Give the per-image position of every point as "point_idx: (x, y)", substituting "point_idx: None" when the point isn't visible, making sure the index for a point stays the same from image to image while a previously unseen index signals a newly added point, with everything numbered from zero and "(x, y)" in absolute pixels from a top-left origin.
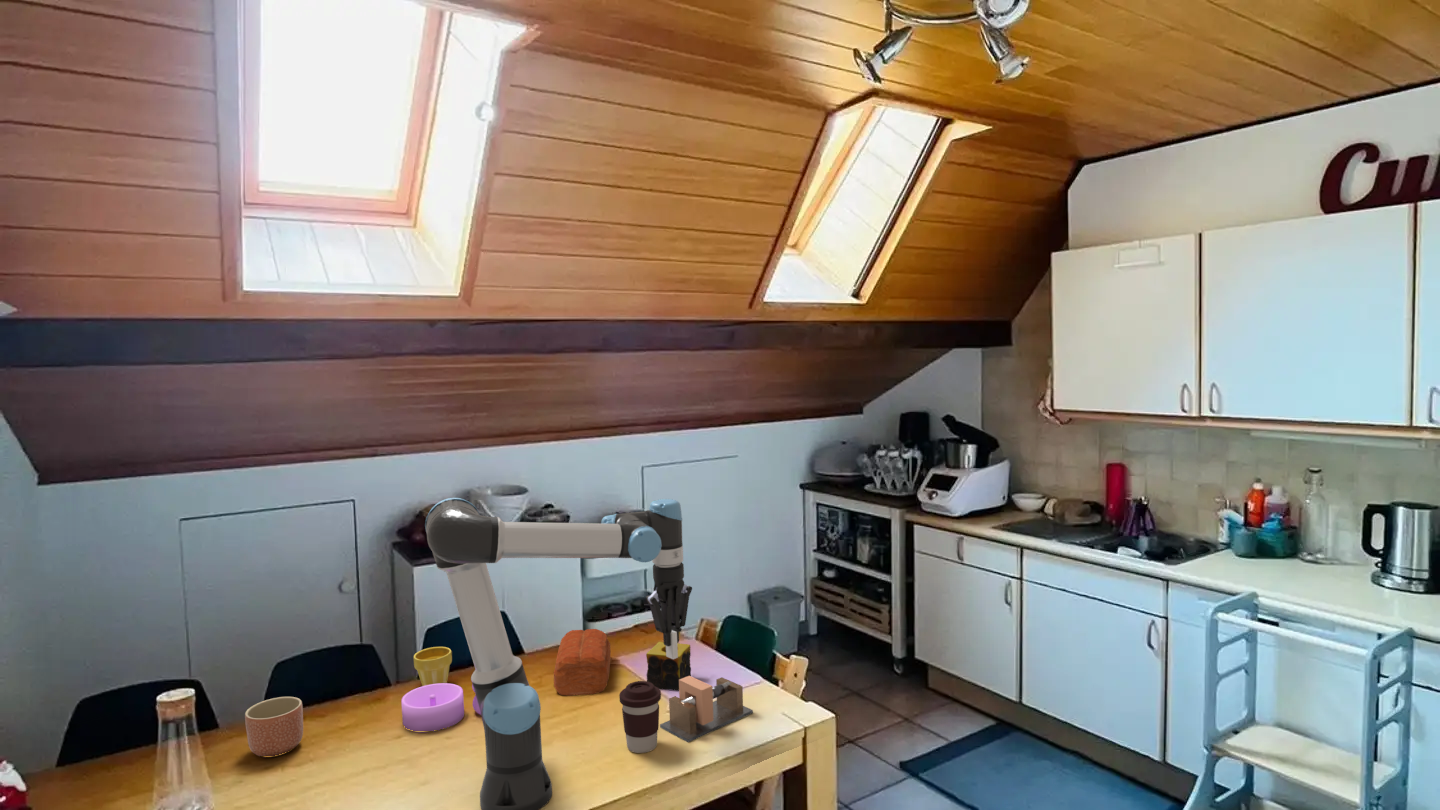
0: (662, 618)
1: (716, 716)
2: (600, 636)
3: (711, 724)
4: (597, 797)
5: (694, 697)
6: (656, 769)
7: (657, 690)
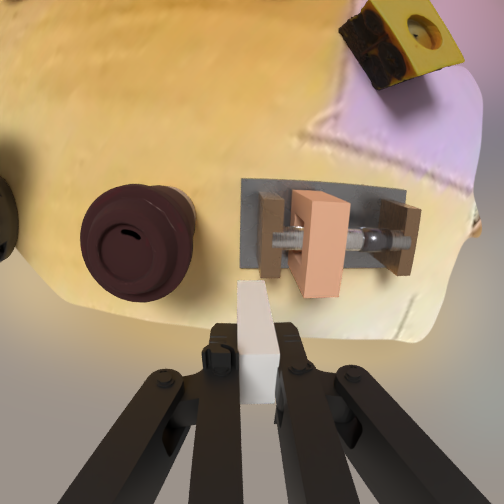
0: (154, 491)
1: None
2: None
3: None
4: (54, 288)
5: None
6: None
7: (176, 272)
